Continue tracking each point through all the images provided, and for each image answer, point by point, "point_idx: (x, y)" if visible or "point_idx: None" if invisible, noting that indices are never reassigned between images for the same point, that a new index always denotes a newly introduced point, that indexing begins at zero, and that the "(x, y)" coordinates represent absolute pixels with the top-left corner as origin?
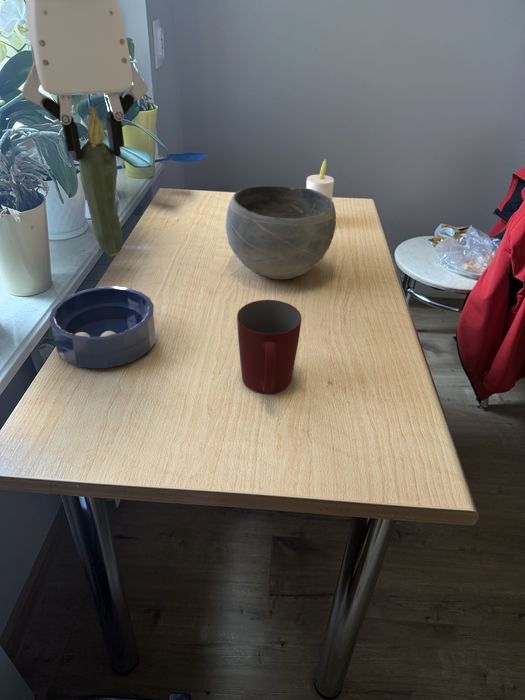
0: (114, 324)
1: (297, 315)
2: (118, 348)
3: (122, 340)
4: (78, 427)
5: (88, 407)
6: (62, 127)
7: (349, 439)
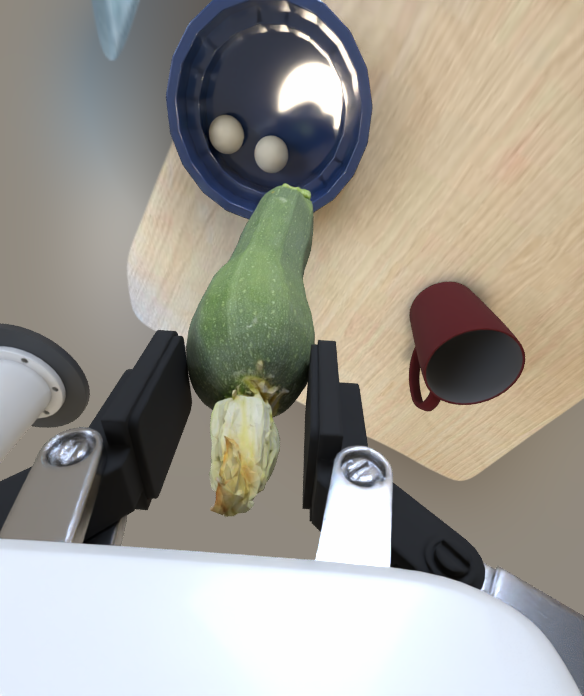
0: (299, 65)
1: (513, 373)
2: None
3: None
4: (205, 289)
5: (220, 262)
6: (93, 423)
7: (445, 413)
